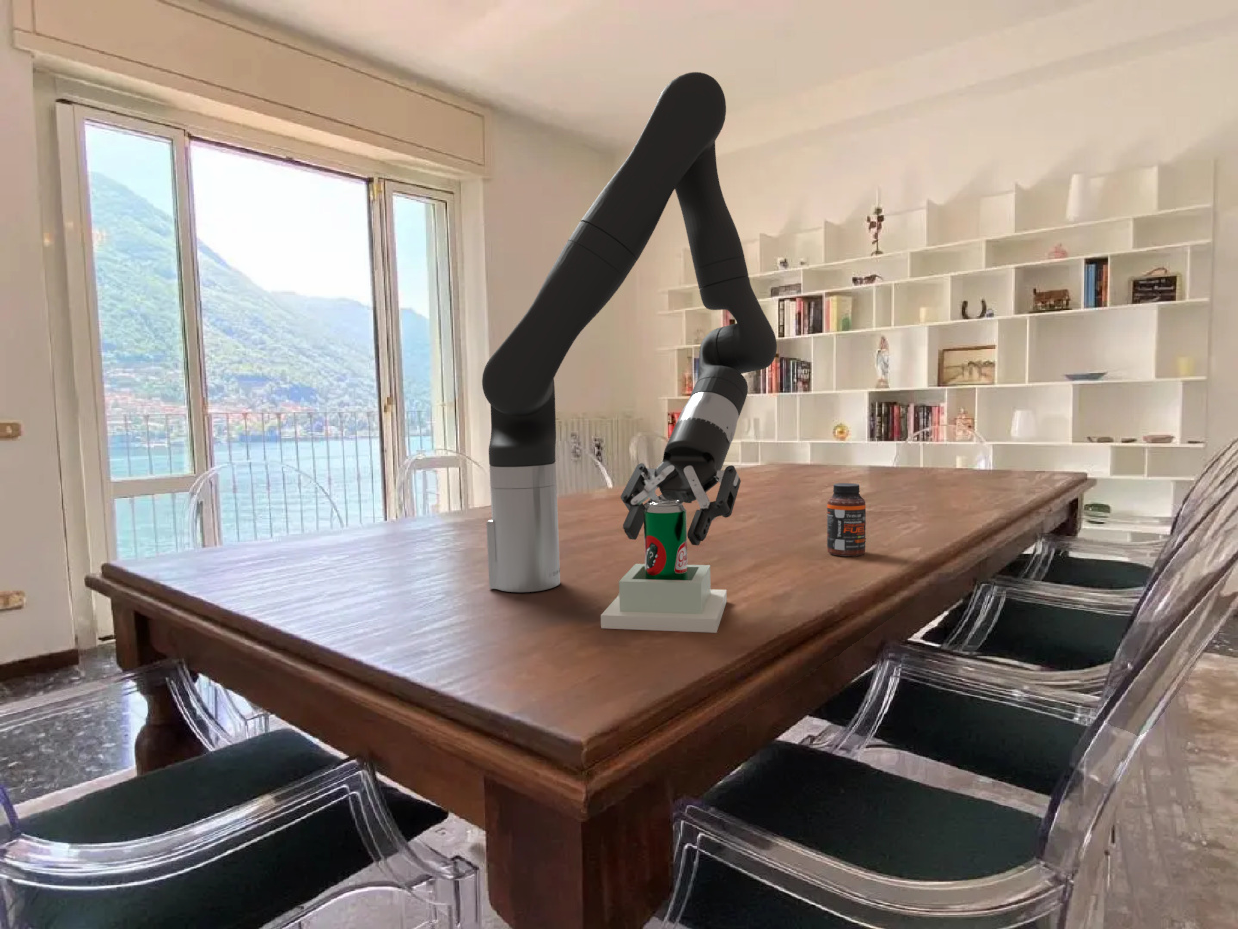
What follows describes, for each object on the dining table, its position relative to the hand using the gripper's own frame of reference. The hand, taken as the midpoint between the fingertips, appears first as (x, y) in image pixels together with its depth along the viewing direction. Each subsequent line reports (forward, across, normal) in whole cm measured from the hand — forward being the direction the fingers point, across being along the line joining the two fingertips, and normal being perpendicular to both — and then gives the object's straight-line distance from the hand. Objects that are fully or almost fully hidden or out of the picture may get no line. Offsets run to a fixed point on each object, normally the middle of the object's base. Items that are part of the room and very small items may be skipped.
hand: (660, 538), depth 88 cm
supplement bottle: (-25, +9, +38) cm, 47 cm away
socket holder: (+6, 0, +7) cm, 9 cm away
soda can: (+5, 0, +7) cm, 8 cm away
